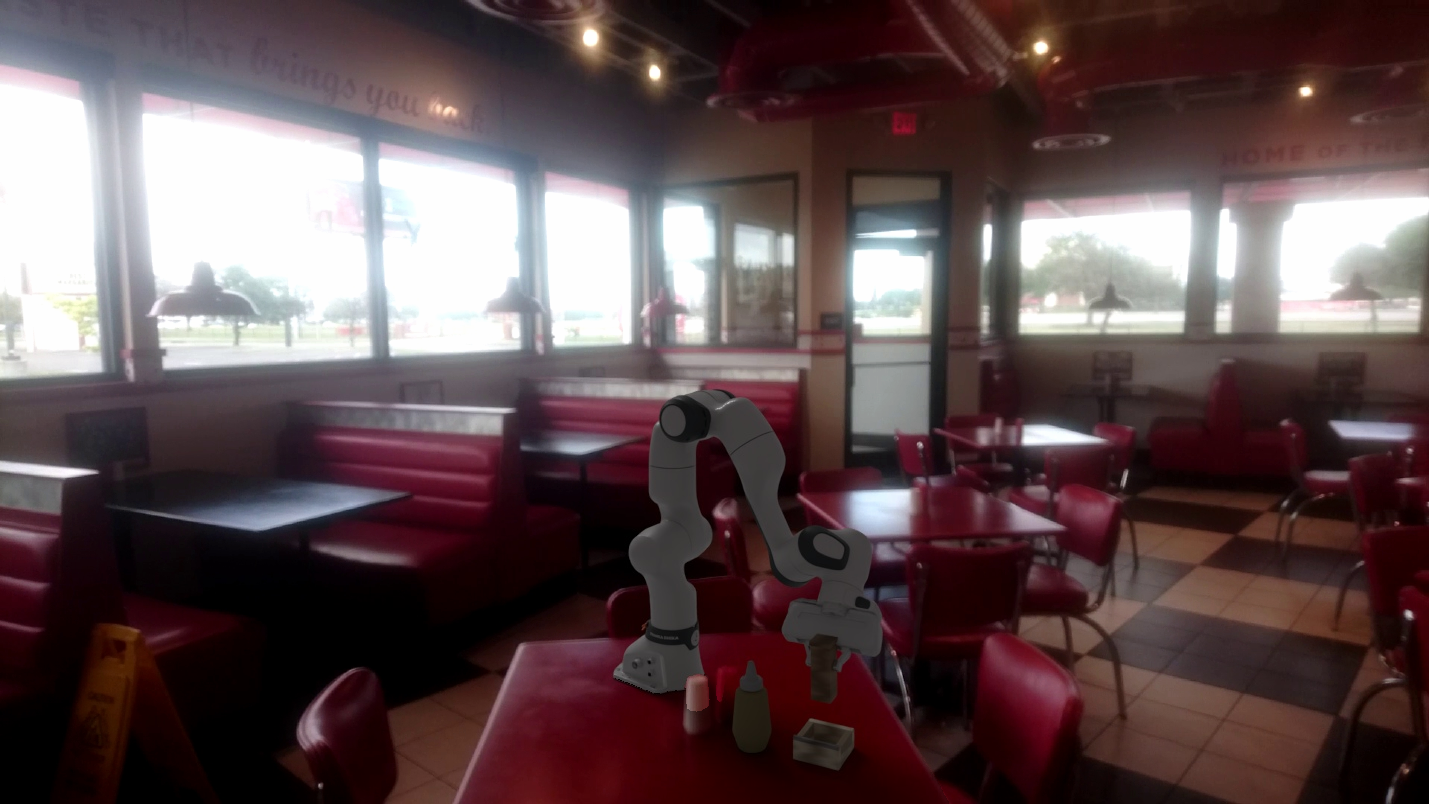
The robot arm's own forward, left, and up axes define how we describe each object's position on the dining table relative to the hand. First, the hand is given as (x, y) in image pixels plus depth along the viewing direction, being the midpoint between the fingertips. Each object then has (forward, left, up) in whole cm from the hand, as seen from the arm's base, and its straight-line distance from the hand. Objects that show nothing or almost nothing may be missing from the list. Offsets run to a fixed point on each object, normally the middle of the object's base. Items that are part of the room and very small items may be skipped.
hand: (822, 668), depth 160 cm
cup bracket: (0, +1, -18) cm, 18 cm away
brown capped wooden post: (0, +1, -6) cm, 6 cm away
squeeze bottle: (-14, -3, -18) cm, 23 cm away
